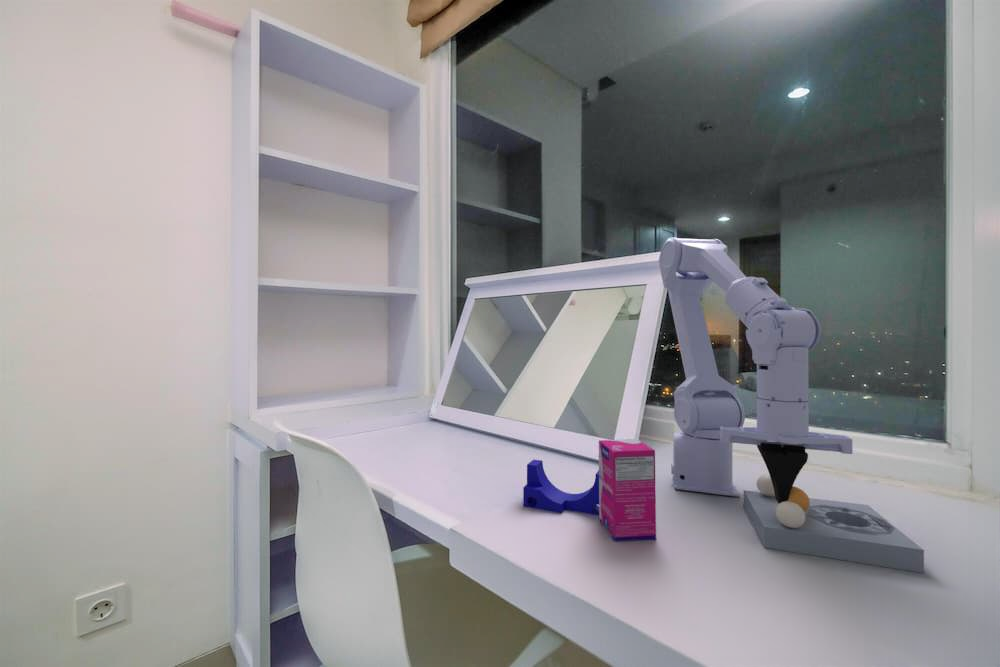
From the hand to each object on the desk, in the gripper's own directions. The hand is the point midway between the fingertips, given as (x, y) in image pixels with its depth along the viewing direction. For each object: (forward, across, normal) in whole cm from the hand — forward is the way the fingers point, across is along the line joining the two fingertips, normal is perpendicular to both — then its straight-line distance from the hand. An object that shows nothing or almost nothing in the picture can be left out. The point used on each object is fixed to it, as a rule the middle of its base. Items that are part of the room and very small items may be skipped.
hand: (782, 501), depth 55 cm
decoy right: (0, 0, -5) cm, 5 cm away
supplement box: (+4, -19, -8) cm, 21 cm away
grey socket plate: (+4, +4, 0) cm, 6 cm away
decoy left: (0, 0, +6) cm, 6 cm away
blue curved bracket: (+4, -28, -3) cm, 29 cm away
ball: (0, +1, 0) cm, 1 cm away
